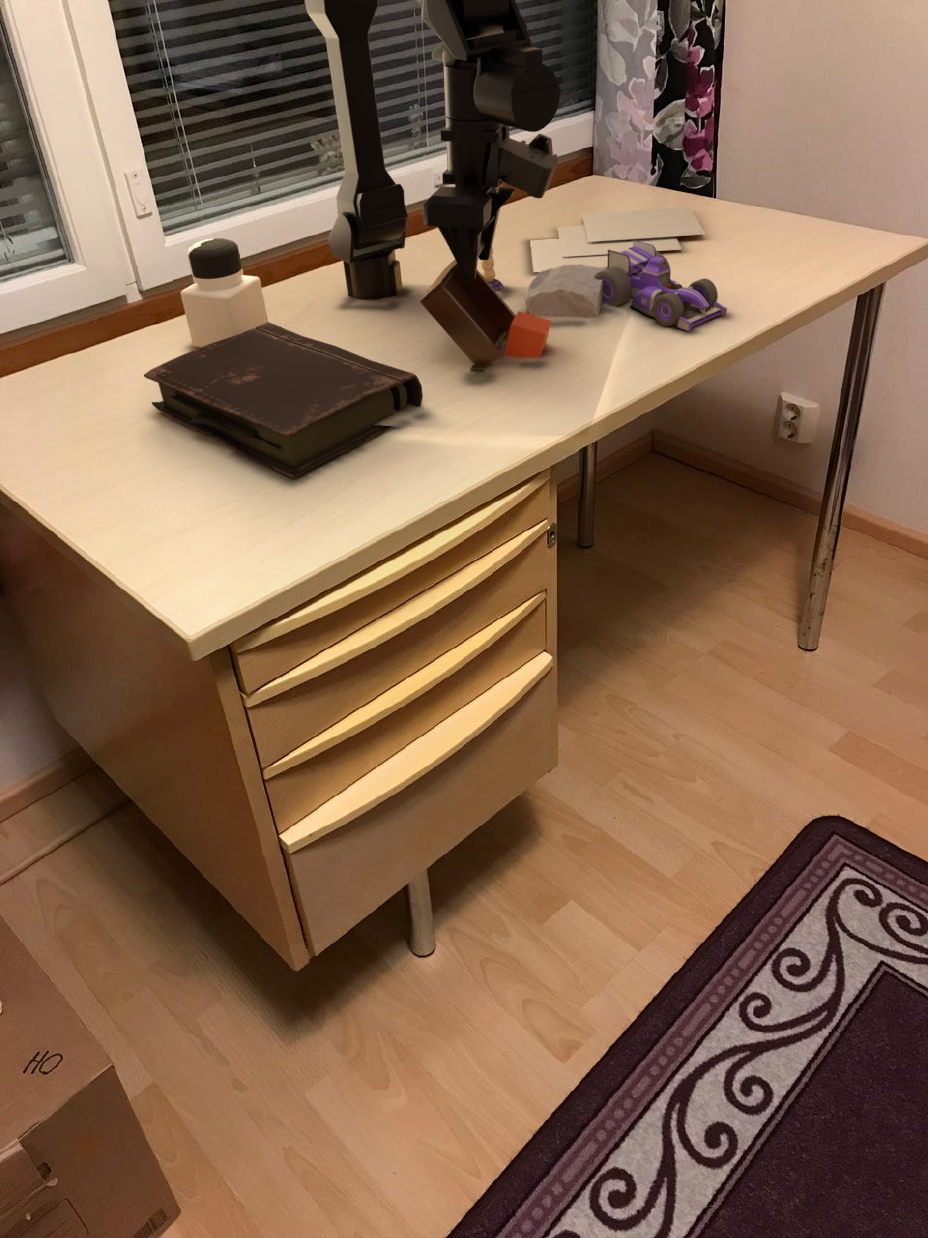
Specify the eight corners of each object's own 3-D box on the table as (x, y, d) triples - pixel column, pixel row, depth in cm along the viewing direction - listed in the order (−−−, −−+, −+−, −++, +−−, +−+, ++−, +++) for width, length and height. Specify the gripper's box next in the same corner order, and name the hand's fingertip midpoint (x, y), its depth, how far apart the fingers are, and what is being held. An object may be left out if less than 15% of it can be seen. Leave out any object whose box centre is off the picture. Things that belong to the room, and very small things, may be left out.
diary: (280, 357, 121) (272, 316, 118) (425, 412, 106) (420, 368, 103) (147, 414, 111) (135, 372, 108) (287, 484, 96) (278, 437, 93)
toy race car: (681, 336, 117) (685, 281, 114) (590, 305, 127) (590, 253, 123) (734, 312, 122) (739, 259, 118) (642, 284, 132) (644, 234, 128)
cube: (545, 334, 111) (536, 366, 114) (551, 320, 114) (543, 352, 117) (510, 324, 112) (503, 356, 114) (518, 310, 115) (510, 342, 117)
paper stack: (717, 260, 136) (717, 255, 136) (533, 272, 138) (533, 267, 137) (689, 210, 155) (689, 205, 154) (527, 221, 156) (527, 216, 156)
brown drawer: (415, 297, 109) (460, 257, 105) (440, 265, 117) (483, 227, 113) (480, 371, 113) (526, 335, 109) (500, 335, 120) (544, 300, 116)
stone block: (525, 336, 125) (605, 321, 121) (516, 299, 122) (597, 282, 119) (539, 304, 134) (613, 289, 131) (531, 268, 131) (607, 252, 128)
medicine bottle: (271, 331, 128) (252, 235, 120) (239, 353, 123) (217, 254, 115) (225, 326, 130) (204, 231, 123) (192, 347, 125) (168, 250, 118)
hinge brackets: (469, 381, 112) (468, 370, 111) (497, 332, 122) (497, 321, 121) (483, 382, 111) (482, 370, 110) (510, 333, 122) (510, 321, 121)
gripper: (532, 139, 92) (531, 305, 102) (568, 96, 106) (564, 245, 116) (417, 135, 95) (426, 297, 104) (467, 94, 109) (471, 241, 118)
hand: (477, 269), depth 111 cm, fingers closed on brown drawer, 6 cm apart
